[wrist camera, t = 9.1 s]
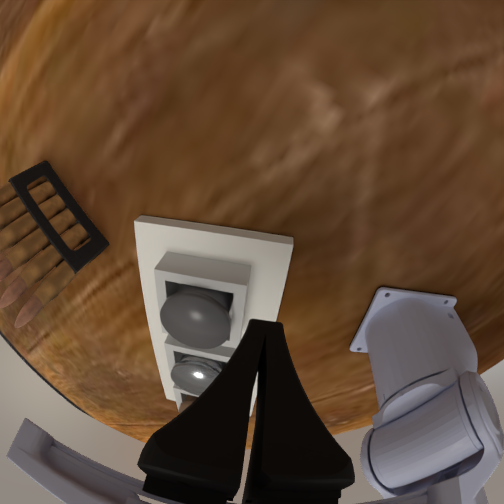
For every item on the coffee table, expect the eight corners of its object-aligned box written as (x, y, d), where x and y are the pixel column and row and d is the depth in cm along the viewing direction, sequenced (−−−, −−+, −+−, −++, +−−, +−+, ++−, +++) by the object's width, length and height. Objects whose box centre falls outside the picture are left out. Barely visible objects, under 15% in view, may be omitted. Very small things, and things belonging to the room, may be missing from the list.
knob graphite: (240, 272, 20) (232, 305, 17) (235, 321, 23) (227, 354, 20) (174, 261, 21) (156, 290, 17) (177, 310, 23) (163, 340, 20)
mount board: (293, 237, 20) (294, 264, 17) (251, 409, 34) (248, 431, 30) (141, 214, 20) (117, 235, 17) (169, 392, 34) (161, 412, 31)
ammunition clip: (39, 172, 19) (-54, 227, 9) (46, 159, 19) (-54, 212, 8) (100, 253, 23) (22, 340, 13) (109, 243, 22) (26, 334, 12)
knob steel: (233, 342, 24) (226, 373, 21) (230, 372, 27) (223, 400, 24) (179, 331, 25) (167, 360, 21) (183, 362, 27) (173, 389, 24)
